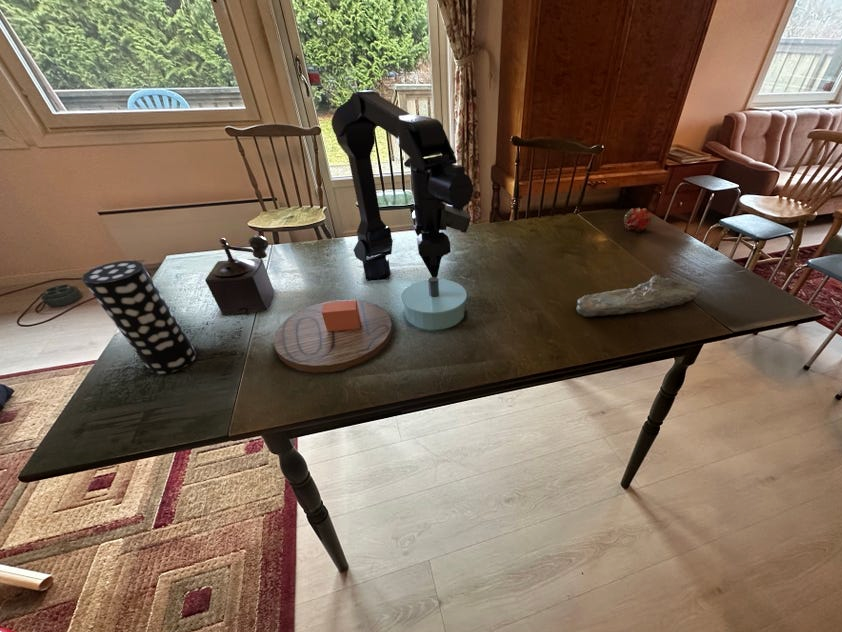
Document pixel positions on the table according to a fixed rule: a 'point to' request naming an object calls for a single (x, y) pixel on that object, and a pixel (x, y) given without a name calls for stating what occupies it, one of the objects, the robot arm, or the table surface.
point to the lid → (434, 296)
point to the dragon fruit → (637, 219)
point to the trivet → (331, 339)
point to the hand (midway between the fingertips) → (432, 267)
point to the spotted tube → (141, 315)
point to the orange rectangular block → (341, 315)
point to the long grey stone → (637, 298)
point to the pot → (435, 318)
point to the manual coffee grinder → (241, 280)
